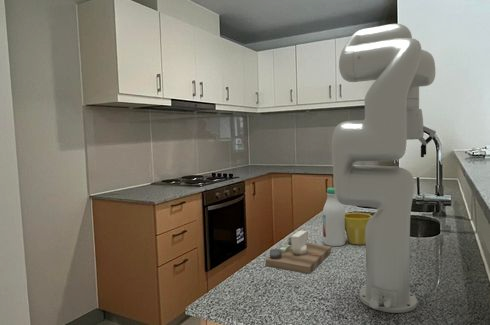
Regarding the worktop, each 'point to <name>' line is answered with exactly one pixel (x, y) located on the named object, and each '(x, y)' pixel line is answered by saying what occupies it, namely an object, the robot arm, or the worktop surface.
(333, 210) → the milk bottle
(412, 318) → the worktop surface
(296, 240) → the wing knob
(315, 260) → the brown lever switch panel
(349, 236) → the plant pot
